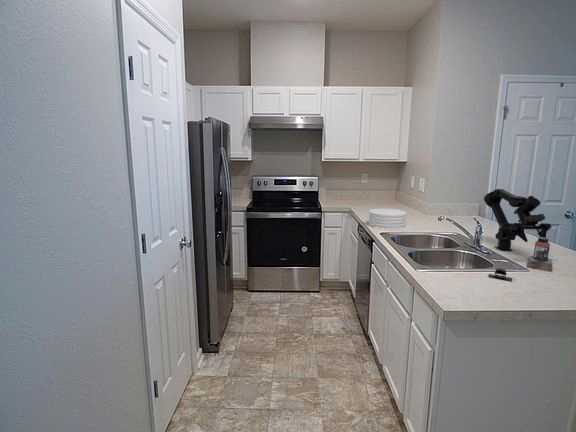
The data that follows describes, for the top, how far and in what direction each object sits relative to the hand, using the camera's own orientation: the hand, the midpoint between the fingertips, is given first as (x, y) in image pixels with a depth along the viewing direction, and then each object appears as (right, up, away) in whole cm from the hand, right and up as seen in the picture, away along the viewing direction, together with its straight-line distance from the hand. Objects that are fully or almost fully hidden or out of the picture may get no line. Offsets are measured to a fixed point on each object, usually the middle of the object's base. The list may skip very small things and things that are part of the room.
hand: (535, 241), depth 171 cm
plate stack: (-51, +5, +88) cm, 102 cm away
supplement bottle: (0, -9, -3) cm, 10 cm away
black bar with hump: (-29, -16, -16) cm, 37 cm away
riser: (0, -13, -3) cm, 13 cm away
